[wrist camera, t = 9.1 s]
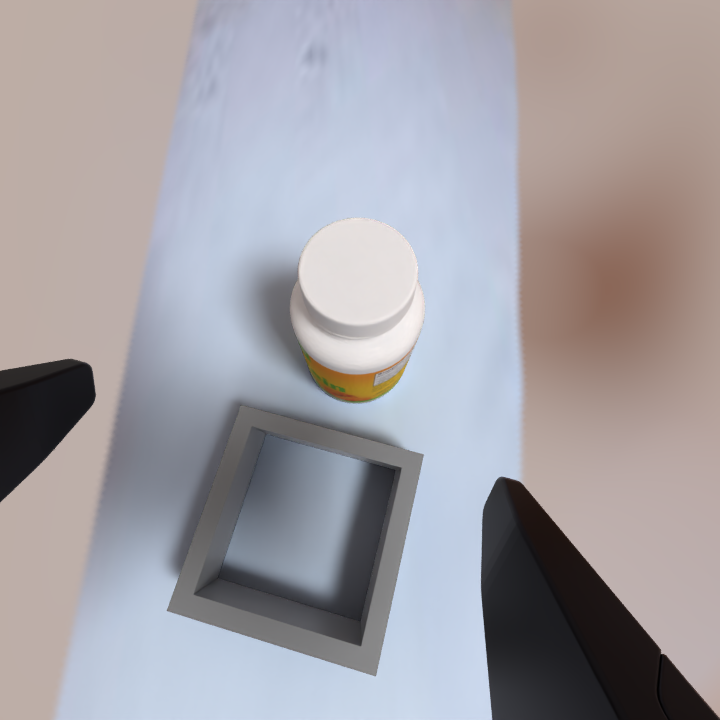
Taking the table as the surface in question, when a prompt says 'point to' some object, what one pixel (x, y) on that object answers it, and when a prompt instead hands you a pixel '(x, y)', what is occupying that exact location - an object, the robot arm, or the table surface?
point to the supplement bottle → (357, 308)
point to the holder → (276, 614)
